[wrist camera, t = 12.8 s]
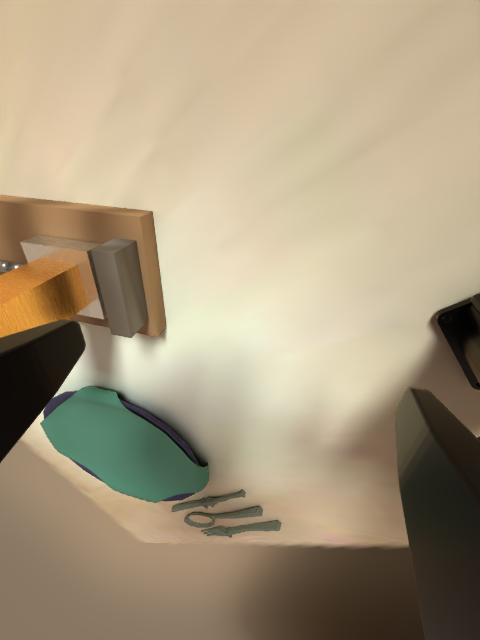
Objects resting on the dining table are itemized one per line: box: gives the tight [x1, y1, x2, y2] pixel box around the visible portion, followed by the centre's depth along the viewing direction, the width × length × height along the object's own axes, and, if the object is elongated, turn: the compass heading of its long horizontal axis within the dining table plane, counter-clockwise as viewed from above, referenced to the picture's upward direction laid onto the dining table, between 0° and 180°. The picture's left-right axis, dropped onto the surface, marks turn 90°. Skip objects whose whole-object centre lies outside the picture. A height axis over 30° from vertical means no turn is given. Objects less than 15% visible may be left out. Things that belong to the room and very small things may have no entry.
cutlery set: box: [40, 386, 281, 538], centre depth 37 cm, size 20×30×2 cm, turn 43°
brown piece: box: [0, 195, 166, 338], centre depth 21 cm, size 19×9×6 cm, turn 88°
